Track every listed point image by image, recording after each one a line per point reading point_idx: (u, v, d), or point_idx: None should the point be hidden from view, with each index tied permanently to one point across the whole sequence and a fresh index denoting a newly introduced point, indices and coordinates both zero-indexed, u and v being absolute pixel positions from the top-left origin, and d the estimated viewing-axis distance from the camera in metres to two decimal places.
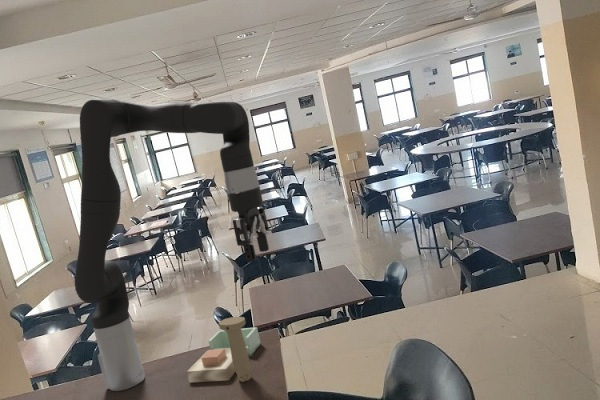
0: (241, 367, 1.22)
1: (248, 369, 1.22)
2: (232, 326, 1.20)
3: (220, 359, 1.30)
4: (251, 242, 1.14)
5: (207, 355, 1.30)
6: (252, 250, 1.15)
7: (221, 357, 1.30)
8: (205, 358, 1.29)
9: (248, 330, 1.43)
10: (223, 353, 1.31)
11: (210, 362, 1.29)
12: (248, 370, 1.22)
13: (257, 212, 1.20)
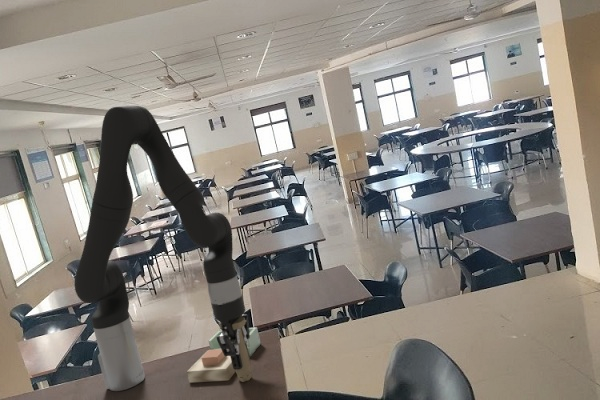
0: None
1: (248, 369, 1.22)
2: (232, 326, 1.20)
3: (220, 359, 1.30)
4: (237, 352, 1.20)
5: (207, 355, 1.30)
6: (238, 359, 1.20)
7: (221, 357, 1.30)
8: (205, 358, 1.29)
9: None
10: None
11: (210, 362, 1.29)
12: (248, 370, 1.22)
13: (240, 316, 1.24)
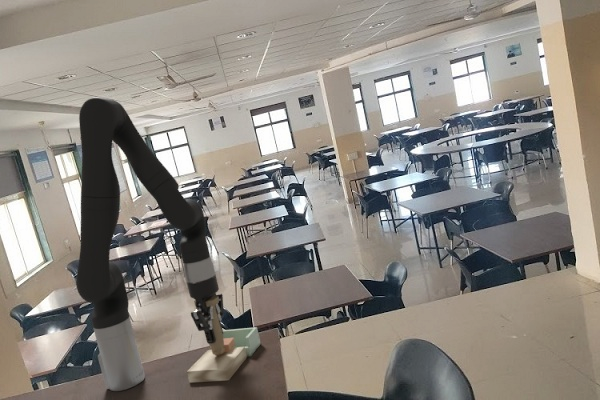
0: (215, 342, 1.32)
1: (221, 343, 1.32)
2: None
3: (231, 347, 1.36)
4: (211, 327, 1.30)
5: None
6: (212, 334, 1.30)
7: (232, 345, 1.37)
8: None
9: (248, 330, 1.43)
10: (233, 341, 1.38)
11: None
12: (221, 344, 1.32)
13: None
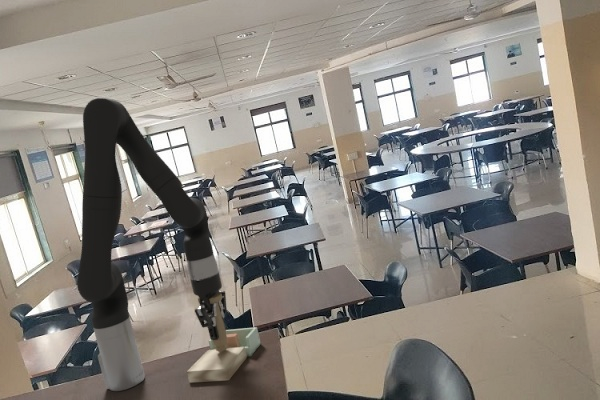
0: (218, 338, 1.34)
1: (224, 340, 1.34)
2: None
3: (236, 339, 1.40)
4: (214, 324, 1.32)
5: None
6: (215, 330, 1.32)
7: (237, 342, 1.41)
8: None
9: (248, 330, 1.43)
10: (239, 346, 1.41)
11: (228, 336, 1.41)
12: (224, 341, 1.34)
13: (217, 292, 1.36)
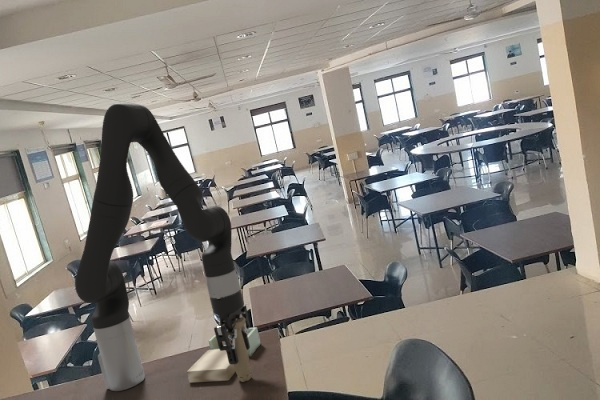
0: (241, 367, 1.22)
1: (248, 369, 1.22)
2: None
3: None
4: (233, 346, 1.18)
5: None
6: (234, 353, 1.19)
7: None
8: None
9: (248, 330, 1.43)
10: None
11: None
12: (248, 370, 1.22)
13: (238, 311, 1.24)
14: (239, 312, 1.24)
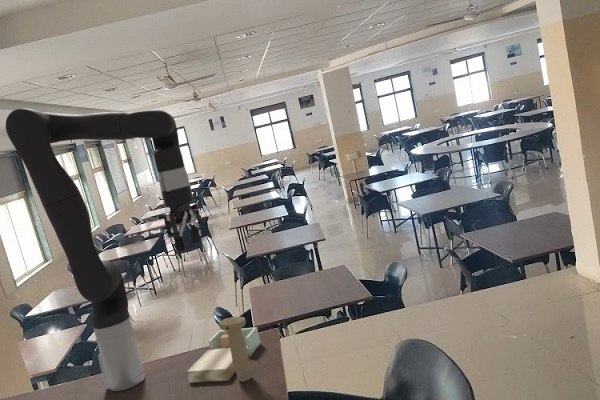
0: (241, 367, 1.22)
1: (248, 369, 1.22)
2: (232, 326, 1.20)
3: None
4: (180, 234, 1.30)
5: None
6: (182, 241, 1.30)
7: None
8: None
9: (248, 330, 1.43)
10: None
11: None
12: (248, 370, 1.22)
13: (189, 208, 1.36)
14: (190, 209, 1.37)
